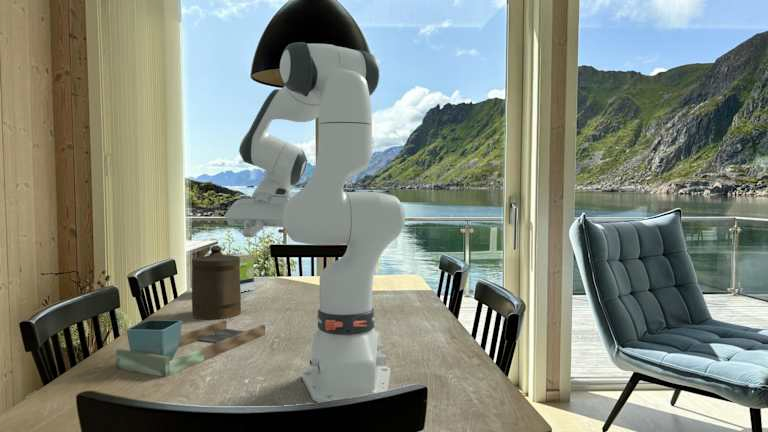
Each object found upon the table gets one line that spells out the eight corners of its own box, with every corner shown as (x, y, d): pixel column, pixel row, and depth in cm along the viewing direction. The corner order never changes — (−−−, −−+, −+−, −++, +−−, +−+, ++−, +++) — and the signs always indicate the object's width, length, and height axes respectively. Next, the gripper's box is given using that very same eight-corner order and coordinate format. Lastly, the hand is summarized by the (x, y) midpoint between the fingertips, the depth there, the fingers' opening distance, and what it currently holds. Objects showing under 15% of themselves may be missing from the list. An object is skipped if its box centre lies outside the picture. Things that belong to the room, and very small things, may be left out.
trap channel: (223, 329, 151) (222, 315, 150) (265, 334, 145) (265, 320, 145) (116, 368, 118) (115, 350, 118) (165, 376, 112) (165, 358, 112)
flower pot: (126, 369, 117) (125, 329, 117) (148, 356, 126) (147, 319, 126) (163, 370, 116) (162, 330, 116) (183, 358, 125) (182, 320, 124)
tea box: (226, 297, 196) (225, 257, 195) (207, 294, 201) (206, 256, 200) (255, 290, 209) (254, 253, 208) (236, 288, 214) (235, 252, 213)
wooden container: (238, 307, 179) (237, 242, 178) (243, 317, 165) (242, 247, 164) (191, 311, 174) (190, 244, 173) (192, 321, 160) (191, 249, 159)
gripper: (233, 190, 152) (210, 226, 143) (294, 190, 144) (274, 228, 135) (243, 205, 156) (222, 241, 148) (303, 206, 148) (284, 244, 140)
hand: (247, 235), depth 141 cm, fingers closed
